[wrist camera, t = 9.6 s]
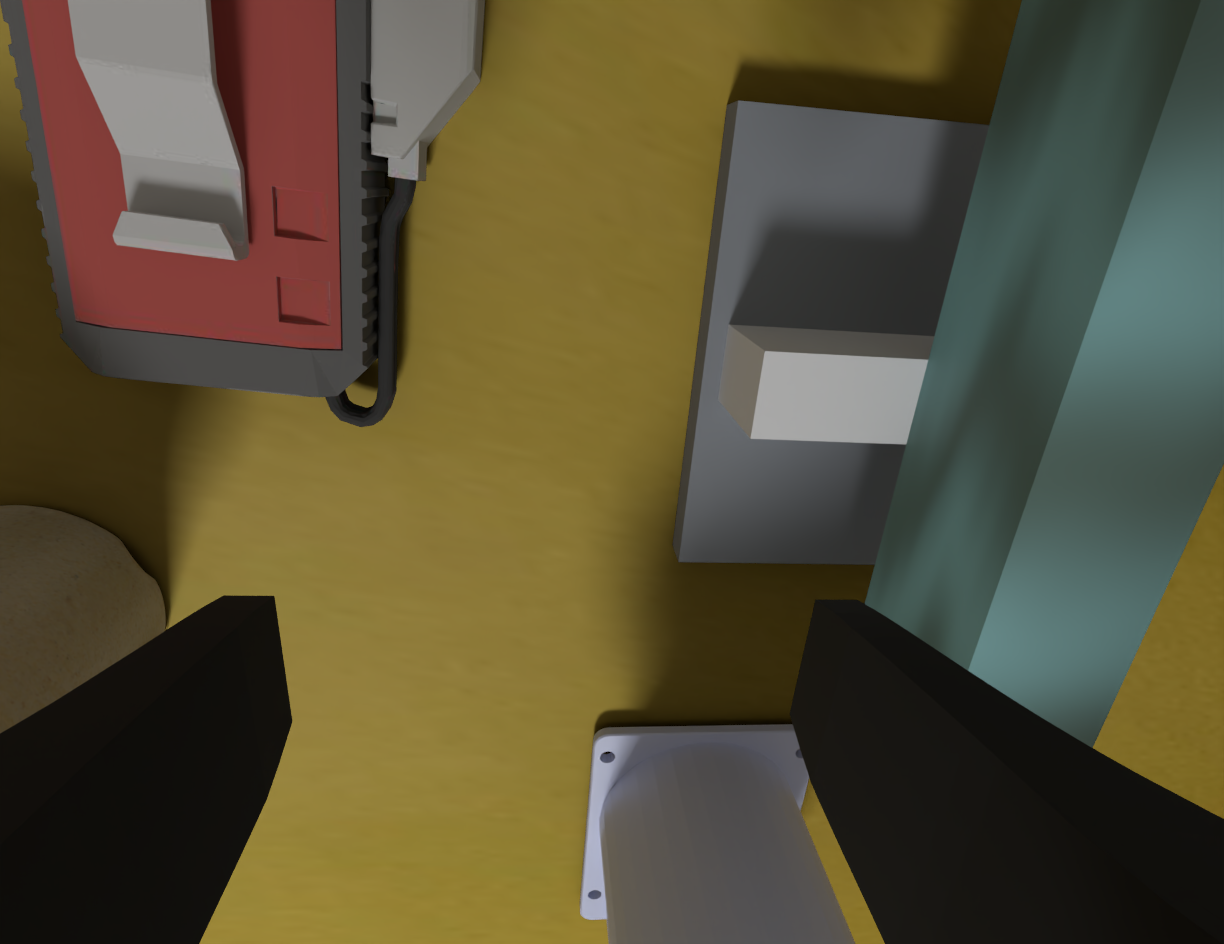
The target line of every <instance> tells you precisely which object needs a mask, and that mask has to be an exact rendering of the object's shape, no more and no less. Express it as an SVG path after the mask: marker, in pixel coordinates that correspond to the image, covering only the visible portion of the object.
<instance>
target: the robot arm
mask: <svg viewBox="0 0 1224 944" xmlns="http://www.w3.org/2000/svg"><path fill="white" fill-rule="evenodd" d="M790 717H791V720H792V724H780V725H719V726H659V727H608V728H603V729H601V730H599V731H598V732H597V733H596V734H595V735H594V738H593V748H592V760H591V773H590V785H589V797H588V809H587V821H586V833H585V846H584V858H583V870H582V882H581V894H580V913H581V915H582V916H583V917H584V918H586V919H590V920H596V919H607V929H608V941H609V944H855V942H854V939H853V937H852V934H851V932H850V930H849V927H848V925H847V922H846V920H845V918H844V915H843V913H842V910H841V908H840V906H839V903H838V901H837V898H836V896H835V894H834V891H833V889H832V886H831V884H830V882H829V879H828V877H827V874H826V872H825V870H824V867H823V865H822V862H821V860H820V857H819V855H818V853H817V850H816V848H815V845H814V843H813V841H812V838H811V836H810V833H809V831H808V829H807V826H806V824H805V821H804V819H803V817H802V814H801V812H800V811H801V807H802V803H803V800H804V796H805V792H806V788H807V784H808V780H809V778H810V781H811V783H812V786H813V788H814V790H815V793H816V795H817V797H818V799H819V802H820V804H821V806H822V808H823V810H824V813H825V815H826V817H827V819H828V821H829V824H830V826H831V828H832V830H833V832H834V835H835V837H836V839H837V841H838V843H839V845H840V848H841V850H842V852H843V854H844V856H845V858H846V861H847V863H848V865H849V867H850V869H851V871H852V873H853V876H854V878H855V880H856V882H857V884H858V886H859V888H860V891H861V893H862V895H863V897H864V899H865V901H866V903H867V906H868V908H869V910H870V912H871V914H872V916H873V919H874V921H875V923H876V925H877V927H878V929H879V931H880V934H881V936H882V938H883V940H884V942H885V944H1224V819H1223V818H1221V817H1219V816H1217V815H1215V814H1213V813H1211V812H1209V811H1207V810H1205V809H1203V808H1201V807H1200V806H1198V805H1196V804H1194V803H1192V802H1190V801H1188V800H1186V799H1184V798H1183V797H1181V796H1179V795H1177V794H1175V793H1173V792H1171V791H1169V790H1167V789H1166V788H1164V787H1162V786H1160V785H1158V784H1156V783H1154V782H1152V781H1150V780H1148V779H1147V778H1145V777H1143V776H1141V775H1139V774H1137V773H1135V772H1134V771H1132V770H1130V769H1128V768H1127V767H1125V766H1123V765H1121V764H1119V763H1118V762H1116V761H1114V760H1112V759H1110V758H1109V757H1107V756H1105V755H1103V754H1102V753H1100V752H1098V751H1097V750H1095V749H1093V748H1092V747H1090V746H1088V745H1087V744H1085V743H1083V742H1082V741H1080V740H1078V739H1076V738H1075V737H1073V736H1071V735H1070V734H1068V733H1066V732H1065V731H1063V730H1061V729H1060V728H1058V727H1056V726H1055V725H1053V724H1051V723H1050V722H1048V721H1046V720H1045V719H1043V718H1041V717H1040V716H1038V715H1037V714H1035V713H1033V712H1032V711H1030V710H1029V709H1027V708H1025V707H1024V706H1022V705H1021V704H1019V703H1017V702H1016V701H1014V700H1013V699H1011V698H1010V697H1008V696H1006V695H1005V694H1003V693H1002V692H1000V691H999V690H997V689H996V688H994V687H992V686H991V685H989V684H988V683H986V682H985V681H983V680H982V679H980V678H979V677H977V676H976V675H974V674H972V673H971V672H969V671H968V670H966V669H965V668H963V667H962V666H960V665H959V664H957V663H956V662H954V661H953V660H951V659H950V658H948V657H947V656H945V655H944V654H942V653H941V652H939V651H938V650H936V649H935V648H933V647H932V646H930V645H929V644H927V643H926V642H924V641H923V640H921V639H920V638H918V637H917V636H915V635H914V634H912V633H911V632H909V631H908V630H906V629H904V628H903V627H901V626H900V625H898V624H897V623H895V622H894V621H892V620H891V619H889V618H887V617H886V616H884V615H883V614H881V613H879V612H878V611H876V610H874V609H873V608H871V607H869V606H867V605H865V604H864V603H862V602H860V601H858V600H815V604H814V609H813V613H812V618H811V622H810V626H809V631H808V635H807V640H806V644H805V648H804V653H803V657H802V662H801V666H800V671H799V675H798V679H797V684H796V688H795V693H794V697H793V702H792V706H791V710H790ZM291 724H292V716H291V709H290V702H289V695H288V688H287V681H286V674H285V667H284V661H283V654H282V647H281V640H280V633H279V626H278V619H277V612H276V605H275V598H274V596H222V597H220V598H219V599H217V600H215V601H213V602H211V603H209V604H208V605H206V606H204V607H203V608H201V609H199V610H198V611H196V612H194V613H193V614H191V615H190V616H188V617H186V618H185V619H183V620H182V621H180V622H178V623H177V624H175V625H174V626H172V627H171V628H169V629H167V630H166V631H164V632H163V633H161V634H160V635H158V636H157V637H155V638H153V639H152V640H150V641H149V642H147V643H146V644H144V645H143V646H141V647H139V648H138V649H136V650H135V651H133V652H132V653H130V654H129V655H127V656H125V657H124V658H122V659H121V660H119V661H118V662H116V663H114V664H113V665H111V666H110V667H108V668H106V669H105V670H103V671H102V672H100V673H99V674H97V675H95V676H94V677H92V678H91V679H89V680H88V681H86V682H84V683H83V684H81V685H80V686H78V687H77V688H75V689H73V690H72V691H70V692H69V693H67V694H65V695H64V696H62V697H61V698H59V699H57V700H56V701H54V702H53V703H51V704H49V705H48V706H46V707H44V708H42V709H41V710H39V711H37V712H36V713H34V714H32V715H31V716H29V717H27V718H26V719H24V720H22V721H20V722H19V723H17V724H15V725H14V726H12V727H10V728H9V729H7V730H5V731H4V732H2V733H0V944H199V943H200V941H201V938H202V936H203V934H204V932H205V930H206V928H207V926H208V924H209V922H210V919H211V917H212V915H213V913H214V911H215V909H216V907H217V905H218V903H219V900H220V898H221V896H222V894H223V892H224V890H225V888H226V886H227V884H228V881H229V879H230V877H231V875H232V873H233V871H234V869H235V867H236V865H237V862H238V860H239V858H240V856H241V854H242V852H243V850H244V847H245V845H246V843H247V841H248V839H249V837H250V835H251V832H252V830H253V828H254V826H255V824H256V822H257V819H258V817H259V815H260V813H261V811H262V808H263V806H264V804H265V802H266V800H267V797H268V794H269V791H270V788H271V785H272V782H273V780H274V777H275V774H276V771H277V768H278V765H279V762H280V759H281V756H282V752H283V749H284V746H285V743H286V740H287V736H288V733H289V730H290V727H291ZM798 749H800V750H798ZM608 751H609V752H611V753H609V754H602V753H604V752H608Z"/></svg>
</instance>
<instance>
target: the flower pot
mask: <svg viewBox="0 0 1224 944" xmlns="http://www.w3.org/2000/svg"><path fill="white" fill-rule="evenodd" d="M165 626H166V615H165V606H164V601H163V596H162V593H161V591H160V588H159V586H158V584H157V582H156V580H155V579H154V578H152V577H151V576H150V575H148V574H147V573H145V572H144V571H143V569H142V568H141V567H140V566H139V565H138V564H137V563H136V561H135V560H134V559H133V557H132V556H131V555H130V553H129V552H128V550H127V549H126V547H125V546H124V544H123V542H122V541H121V540H120V539H119V538H117V537H116V536H115V535H113V534H111V533H110V532H108V531H107V530H105V529H103V528H101V527H99V526H97V525H95V524H93V523H92V522H89V521H87V520H85V519H82V518H80V517H77V516H74V515H71V514H68V513H65V512H62V511H58V510H53V509H49V508H44V507H35V506H26V505H5V506H0V733H2V732H4V731H5V730H7V729H9V728H10V727H12V726H14V725H15V724H17V723H19V722H20V721H22V720H24V719H26V718H27V717H29V716H31V715H32V714H34V713H36V712H37V711H39V710H41V709H42V708H44V707H46V706H48V705H49V704H51V703H53V702H54V701H56V700H57V699H59V698H61V697H62V696H64V695H65V694H67V693H69V692H70V691H72V690H73V689H75V688H77V687H78V686H80V685H81V684H83V683H84V682H86V681H88V680H89V679H91V678H92V677H94V676H95V675H97V674H99V673H100V672H102V671H103V670H105V669H106V668H108V667H110V666H111V665H113V664H114V663H116V662H118V661H119V660H121V659H122V658H124V657H125V656H127V655H129V654H130V653H132V652H133V651H135V650H136V649H138V648H139V647H141V646H143V645H144V644H146V643H147V642H149V641H150V640H152V639H153V638H155V637H157V636H158V635H160V634H161V633H163V632H164V631H165Z"/></svg>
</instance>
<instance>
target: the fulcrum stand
mask: <svg viewBox="0 0 1224 944" xmlns="http://www.w3.org/2000/svg"><path fill="white" fill-rule="evenodd" d="M988 129H989V125H982V124H972V123H962V122H952V121H942V120H932V119H922V118H912V117H901V116H891V115H881V114H871V113H861V112H851V111H841V110H830V109H820V108H810V107H800V106H790V105H780V104H770V103H760V102H749V101H739V100H738V101H736V102H734V103H731V104H729V105H727V110H726V118H725V126H724V134H723V142H722V150H721V158H720V166H719V174H718V182H717V190H716V198H715V207H714V215H713V223H712V231H711V239H710V247H709V255H708V263H707V271H706V279H705V287H704V295H703V303H702V311H701V320H700V328H699V336H698V344H697V352H696V360H695V368H694V376H693V384H692V392H691V400H690V408H689V416H688V424H687V433H686V441H685V449H684V457H683V465H682V473H681V481H680V489H679V497H678V505H677V513H676V521H675V529H674V537H673V548H674V551H675V553H676V556H677V559H678V562H710V563H785V564H859V565H875V562H876V559H877V555H878V551H879V547H880V543H881V539H882V536H883V532H884V528H885V524H886V520H887V516H888V513H889V509H890V505H891V501H892V497H893V493H894V490H895V486H896V482H897V478H898V474H899V470H900V466H901V463H902V459H903V455H904V451H905V447H906V443H907V440H908V436H909V432H910V428H911V424H912V420H913V417H914V413H915V409H916V405H917V401H918V397H919V394H920V390H921V386H922V382H923V378H924V374H925V371H926V367H927V363H928V359H929V355H930V351H931V348H932V344H933V340H934V336H935V332H936V328H937V325H938V321H939V317H940V313H941V309H942V305H943V302H944V298H945V294H946V290H947V286H948V282H949V278H950V275H951V271H952V267H953V263H954V259H955V255H956V252H957V248H958V244H959V240H960V236H961V232H962V229H963V225H964V221H965V217H966V213H967V209H968V206H969V202H970V198H971V194H972V190H973V186H974V183H975V179H976V175H977V171H978V167H979V163H980V160H981V156H982V152H983V148H984V144H985V140H986V137H987V133H988Z"/></svg>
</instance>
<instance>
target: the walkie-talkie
mask: <svg viewBox="0 0 1224 944" xmlns="http://www.w3.org/2000/svg"><path fill="white" fill-rule="evenodd" d="M0 2H1V8H2V13H3V19H4V21H5V22H7V23H8V24H9V29H10V35H11V41H12V44H10V45H8V46H9V51H10V55H11V56H13V57H14V58H15V63H16V68H17V74H18V77H16V78H14V80H15V85H16V88H18V89H19V90H20V92H21V97H22V103H23V109H22V110H20V113H21V118H22V120H24V121H25V122H26V126H27V131H28V136H29V140H28V141H26V147H27V150H28V151H29V152H31V154H32V160H33V166H34V171H31V175H32V180H33V181H35V182H36V183H37V188H38V194H39V200H37V201H36V203H37V208H38V209H39V210H40V211H42V216H43V222H44V227H45V228H43V229H41V231H42V236H43V237H44V238H45V239H46V240H47V245H48V251H49V256H46V259H47V264H48V265H49V266H51V268H52V273H53V279H54V282H53V283H51V287H52V291H54V292H55V293H56V296H57V302H58V307H59V308H58V309H55V310H56V315H57V317H59V318H60V319H61V324H62V330H63V333H62V334H60V337H61V338H62V339H63V340H64V341H65V343H66V344H67V345H68V346H69V347H70V348H71V349H72V350H73V352H74V353H75V354H76V355H77V356H78V357H79V358H80V359H81V360H82V362H83V363H84V364H85V365H86V366H87V367H88V368H89V369H90V370H91V372H94V373H96V374H99V375H102V376H107V377H114V378H123V379H133V380H143V381H154V382H164V383H174V384H184V385H194V386H205V387H215V388H225V389H235V390H245V391H256V392H266V393H276V394H286V395H296V396H308V397H326V400H327V402H328V404H329V407H330V409H331V411H332V412H333V413H334V414H335V415H336V416H337V417H338V418H339V419H340V420H341V421H344V422H347V423H350V424H353V425H356V426H359V427H364V426H371V425H374V424H376V423H377V422H379V421H381V420H382V419H383V417H384V416H385V415H386V413H387V412H388V410H389V409H390V408H391V405H392V403H393V400H394V397H395V394H396V380H397V298H398V257H399V235H400V226H401V223H402V220H403V217H404V215H405V213H406V212H407V210H408V208H409V207H410V205H411V203H412V200H413V196H414V192H415V188H416V180H417V181H426V161H427V147H428V146H429V145H430V143H431V142H432V141H433V140H434V138H435V137H436V136H437V135H438V133H439V132H440V131H441V130H442V129H443V127H444V126H445V125H446V124H447V122H448V121H449V120H450V119H451V117H452V116H453V115H454V114H455V113H456V111H457V110H458V109H459V108H460V106H461V105H462V104H463V103H464V101H465V100H466V99H467V98H468V96H469V95H470V94H471V93H472V92H473V90H474V89H475V88H476V86H477V85H478V84H479V82H480V76H481V59H482V42H483V26H484V9H485V0H0ZM385 157H386V158H388V163H386V162H385ZM386 172H388V176H389V177H395V190H394V194H393V196H392V197H391V199H390V201H389V203H388V205H387V206H386V208H385V197H387V196H389V189H388V188H386V187H385V173H386ZM377 358H378V392H377V399H376V401H375V403H374V405H373V406H371V407H369V408H365V407H362V406H359V405H356V404H353V403H352V402H351V401H350V400H349V399H348V396H347V394H346V391H345V389H346V388H347V387H348V386H349V385H350V384H351V383H352V382H353V381H355V380H356V379H357V378H358V377H359V376H360V375H361V374H362V373H363V372H364V371H365V370H367V369H368V368H369V367H370V365H371V364H372V363H373V362H374V361H375V360H376V359H377Z"/></svg>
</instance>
